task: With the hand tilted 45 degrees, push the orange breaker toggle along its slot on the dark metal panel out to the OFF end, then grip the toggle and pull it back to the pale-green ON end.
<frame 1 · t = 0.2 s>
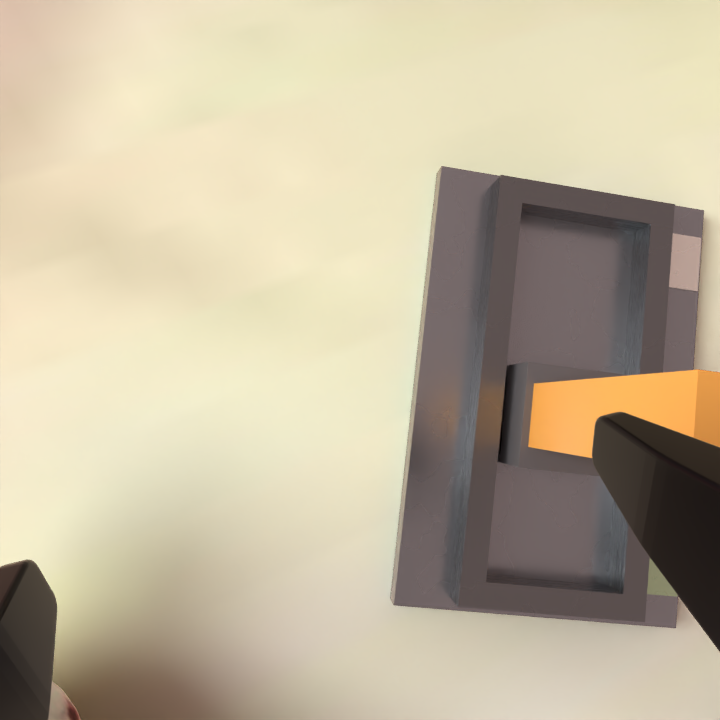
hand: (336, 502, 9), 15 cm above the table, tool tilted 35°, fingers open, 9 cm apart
breaker toggle: (634, 424, 19), point 6 cm above the table, slide at 4.0 cm
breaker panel: (549, 396, 25), on the table
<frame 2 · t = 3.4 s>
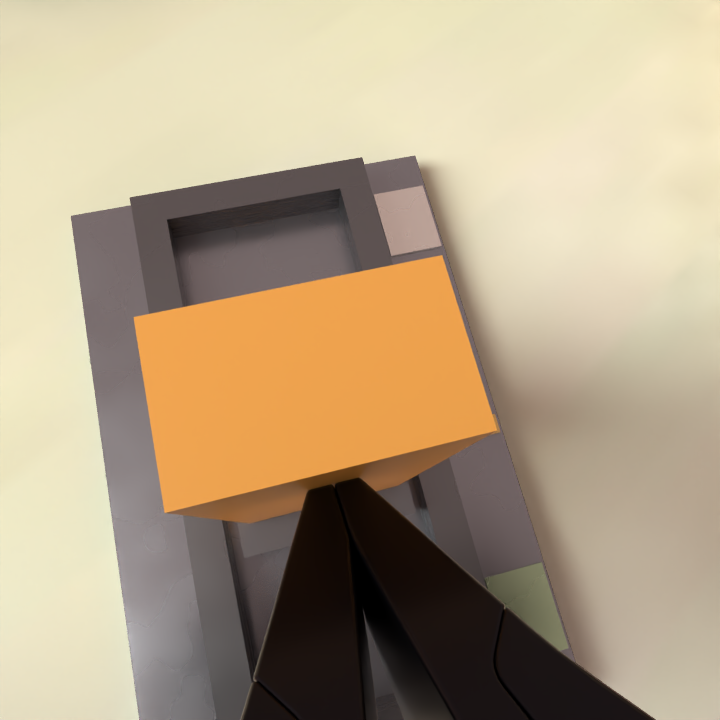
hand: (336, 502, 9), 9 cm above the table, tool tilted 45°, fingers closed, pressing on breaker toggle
breaker toggle: (314, 440, 12), point 6 cm above the table, slide at 4.0 cm, touching gripper
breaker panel: (307, 440, 19), on the table
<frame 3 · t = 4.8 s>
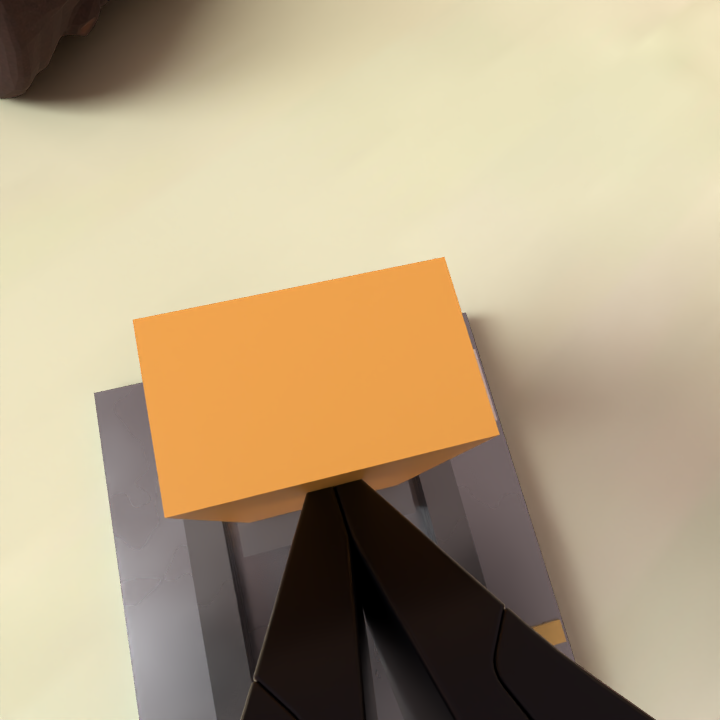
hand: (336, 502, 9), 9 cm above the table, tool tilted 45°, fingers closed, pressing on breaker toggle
breaker toggle: (314, 440, 12), point 6 cm above the table, slide at 10.3 cm, touching gripper
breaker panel: (354, 645, 17), on the table
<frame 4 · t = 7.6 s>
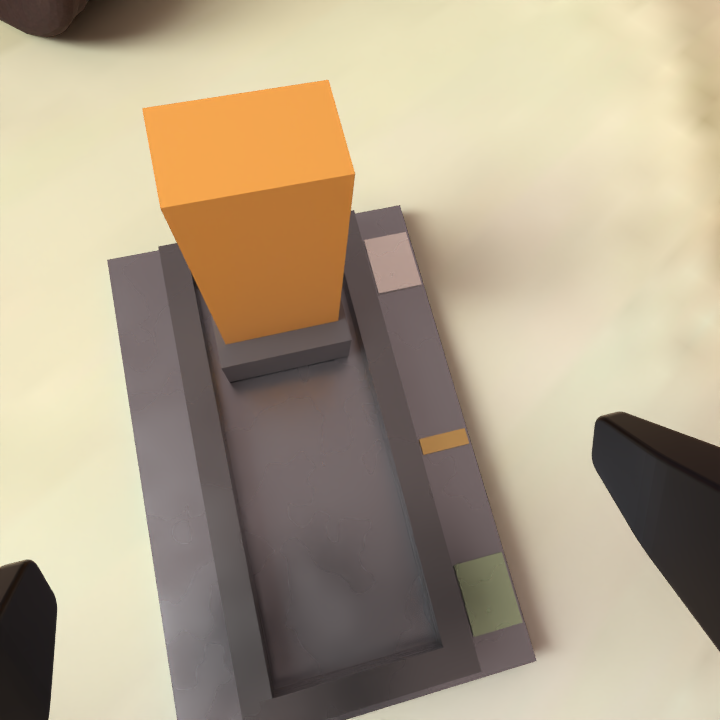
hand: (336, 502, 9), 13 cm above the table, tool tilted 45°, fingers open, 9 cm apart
breaker toggle: (268, 257, 18), point 6 cm above the table, slide at 10.0 cm
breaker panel: (307, 449, 22), on the table
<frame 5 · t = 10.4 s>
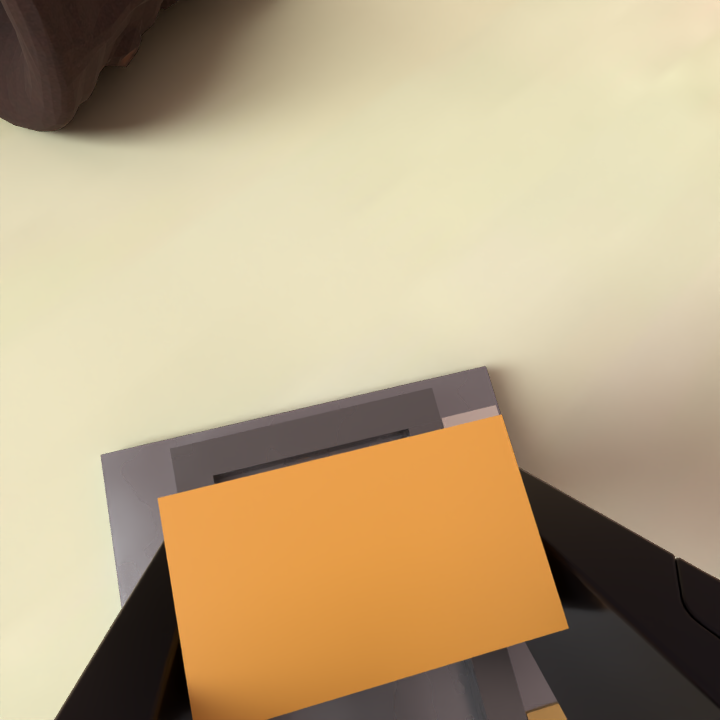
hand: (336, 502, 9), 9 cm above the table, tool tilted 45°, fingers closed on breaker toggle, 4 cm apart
breaker toggle: (340, 546, 12), point 6 cm above the table, slide at 10.0 cm, touching gripper
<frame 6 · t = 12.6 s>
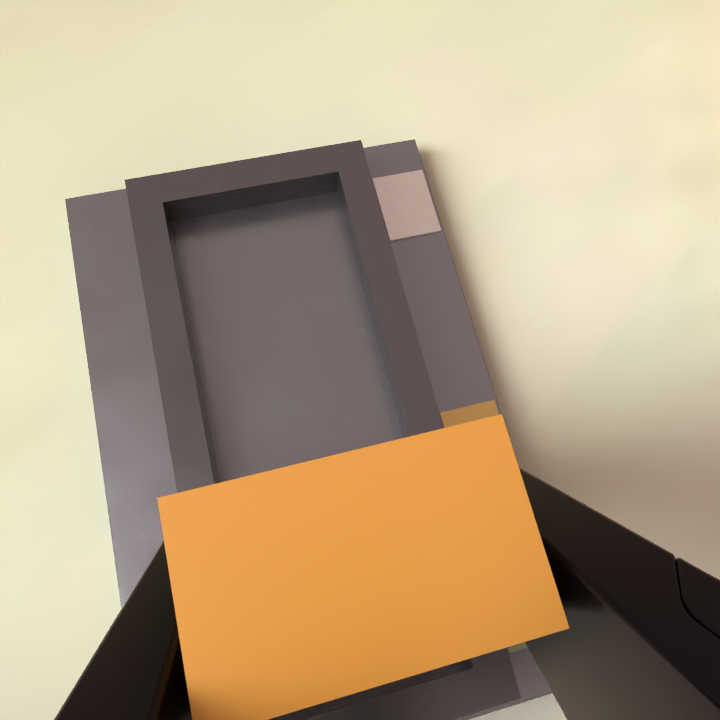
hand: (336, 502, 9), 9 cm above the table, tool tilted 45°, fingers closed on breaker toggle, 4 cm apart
breaker toggle: (340, 546, 12), point 6 cm above the table, slide at 1.5 cm, touching gripper
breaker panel: (305, 426, 19), on the table
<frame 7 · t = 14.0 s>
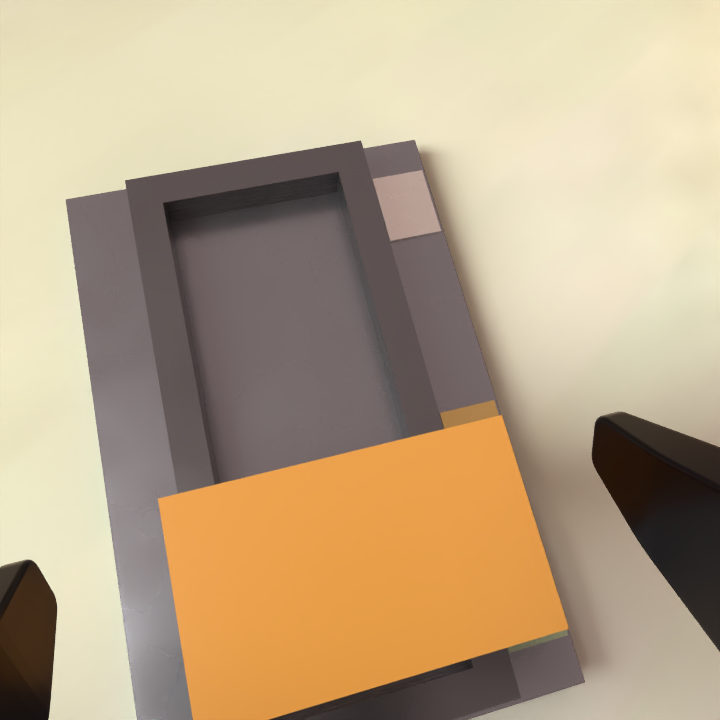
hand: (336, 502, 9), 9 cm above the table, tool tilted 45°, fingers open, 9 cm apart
breaker toggle: (340, 546, 12), point 6 cm above the table, slide at 1.4 cm
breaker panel: (305, 426, 19), on the table
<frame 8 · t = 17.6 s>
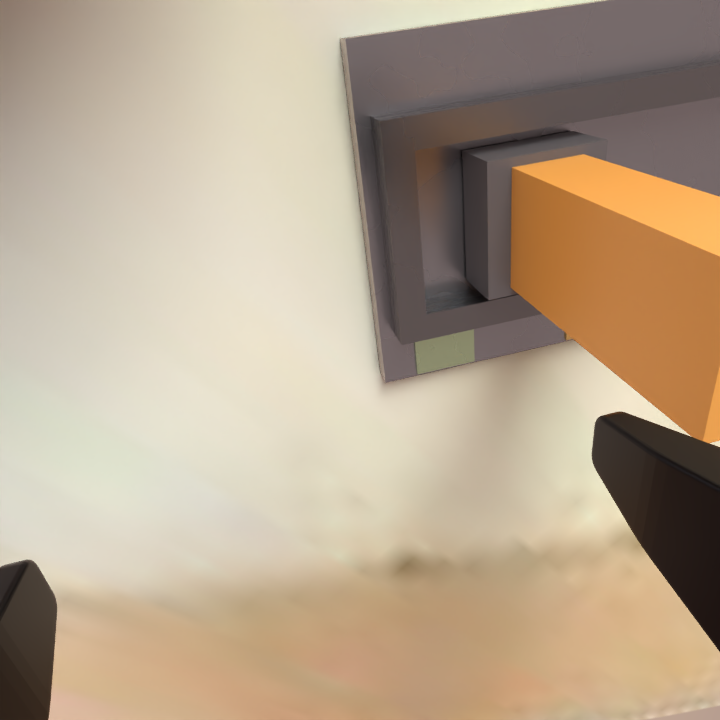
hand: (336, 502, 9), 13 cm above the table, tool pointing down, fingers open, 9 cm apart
breaker toggle: (608, 258, 16), point 6 cm above the table, slide at 1.4 cm
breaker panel: (594, 185, 22), on the table
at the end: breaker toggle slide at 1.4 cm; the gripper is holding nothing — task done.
